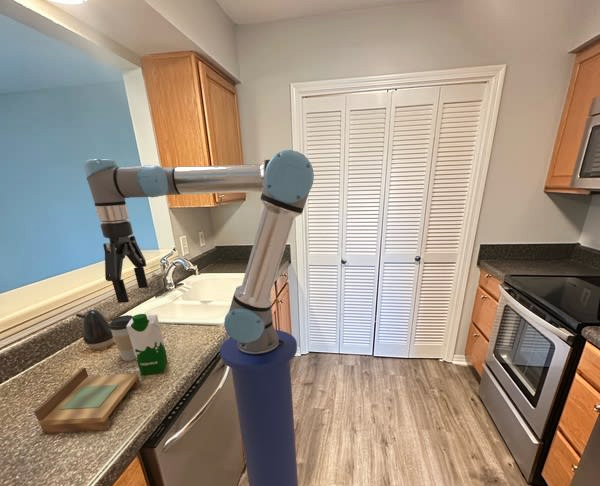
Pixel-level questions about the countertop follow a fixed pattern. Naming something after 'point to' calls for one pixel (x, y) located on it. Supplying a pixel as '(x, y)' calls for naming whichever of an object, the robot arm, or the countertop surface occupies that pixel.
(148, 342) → the soya milk
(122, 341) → the coffee cup
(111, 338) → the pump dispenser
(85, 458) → the countertop surface
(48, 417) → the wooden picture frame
